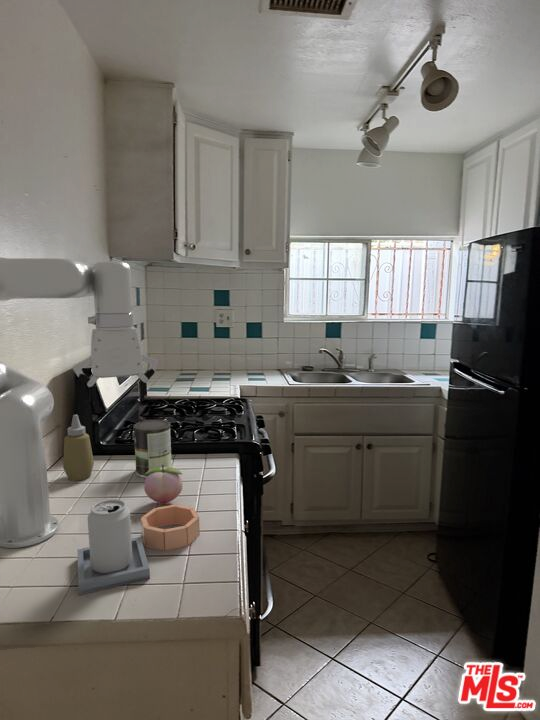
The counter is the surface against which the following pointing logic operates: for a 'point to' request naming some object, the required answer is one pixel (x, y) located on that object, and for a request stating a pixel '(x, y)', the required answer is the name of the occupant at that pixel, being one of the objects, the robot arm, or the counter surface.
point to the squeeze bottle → (77, 452)
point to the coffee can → (152, 445)
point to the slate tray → (96, 581)
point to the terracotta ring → (172, 536)
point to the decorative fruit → (163, 484)
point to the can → (110, 536)
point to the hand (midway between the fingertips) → (118, 401)
